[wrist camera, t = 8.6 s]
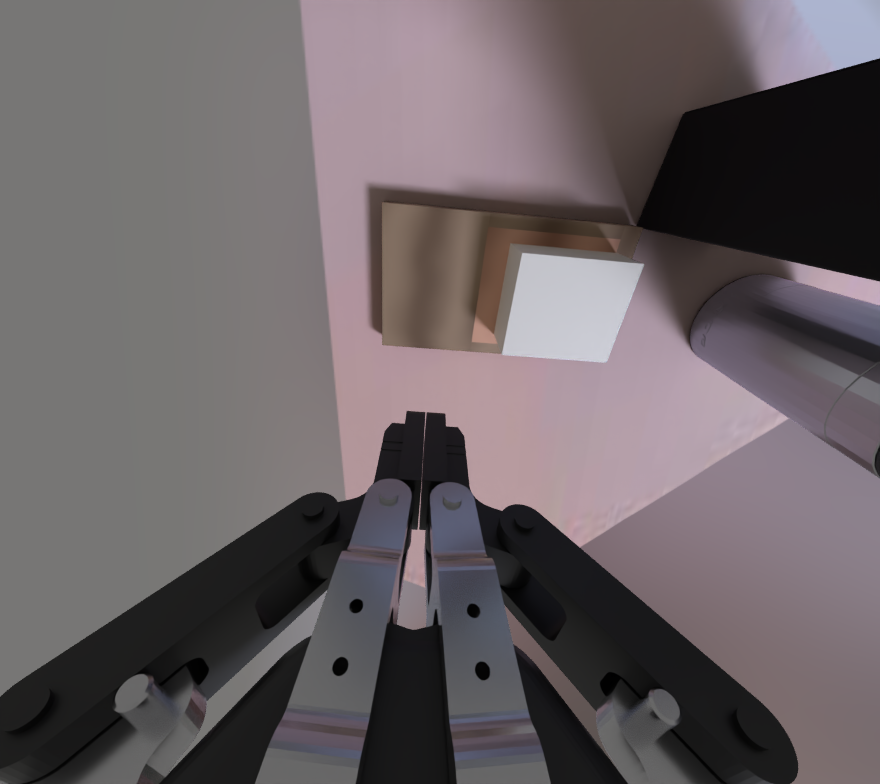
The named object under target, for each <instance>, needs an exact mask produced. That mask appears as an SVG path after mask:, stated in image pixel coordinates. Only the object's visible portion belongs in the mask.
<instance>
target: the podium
mask: <svg viewBox="0 0 880 784" xmlns="http://www.w3.org/2000/svg"><path fill="white" fill-rule="evenodd" d="M642 230H643V228H642V227H637V226H633V225H625V224H615V223H604V222H594V221H584V220H574V219H563V218H553V217H543V216H533V215H522V214H512V213H502V212H492V211H481V210H471V209H461V208H451V207H440V206H430V205H420V204H410V203H399V202H389V201H384V202H382V345H389V346H402V347H416V348H429V349H443V350H456V351H470V352H483V353H497V354H501V352H500V349H499V346H498V344H497V341H496V339H495V336H494V331H495V325H496V320H497V314H498V309H499V303H500V298H501V292H502V286H503V281H504V275H505V270H506V264H507V259H508V253H509V248H510V243H514V244H525V245H536V246H546V247H557V248H568V249H579V250H590V251H600V252H611V253H618V254H620V255H623V256H625V257H628V258H630V259H632V257H633V255H634V252H635V249H636V246H637V244H638V241H639V238H640V235H641V233H642Z"/></svg>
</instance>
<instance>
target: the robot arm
mask: <svg viewBox="0 0 880 784" xmlns="http://www.w3.org/2000/svg"><path fill="white" fill-rule="evenodd" d="M690 343H691V347H692V349H693V352H694V353H695V354H696V355H697V356H698V357H699V358H700V359H702V360H703V361H705V362H706V363H708V364H709V365H711V366H712V367H714V368H715V369H717V370H718V371H720V372H721V373H723V374H724V375H725V376H727V377H728V378H730V379H731V380H733V381H734V382H736V383H737V384H739V385H740V386H742V387H743V388H745V389H746V390H748V391H749V392H751V393H752V394H754V395H755V396H757V397H758V398H760V399H761V400H763V401H764V402H766V403H767V404H769V405H770V406H772V407H773V408H775V409H776V410H778V411H779V412H781V413H782V414H784V415H785V416H787V417H788V418H790V419H791V420H793V421H794V422H796V423H797V424H799V425H800V426H802V427H803V428H805V429H806V430H808V431H809V432H811V433H812V434H814V435H815V436H817V437H818V438H820V439H821V440H823V441H824V442H826V443H827V444H828V445H830V446H831V447H833V448H835V449H836V450H838V451H839V452H841V453H842V454H844V455H845V456H847V457H849V458H850V459H852V460H853V461H854V462H856V463H857V464H859V465H860V466H862V467H863V468H865V469H866V470H868V471H869V472H871V473H872V474H874V475H875V476H877V477H878V478H880V305H876V304H872V303H869V302H865V301H862V300H858V299H854V298H851V297H847V296H844V295H840V294H837V293H833V292H829V291H826V290H822V289H819V288H816V287H812V286H809V285H805V284H802V283H798V282H794V281H791V280H787V279H784V278H780V277H776V276H773V275H764V274H760V275H752V276H748V277H745V278H742V279H739V280H737V281H735V282H733V283H731V284H729V285H727V286H726V287H724V288H723V289H721V290H720V291H718V292H717V293H716V294H715V295H714V296H712V297H711V298H710V299H709V300H708V301H707V302H706V304H705V305H704V306H703V307H702V308H701V310H700V311H699V313H698V315H697V316H696V318H695V320H694V323H693V325H692V328H691V334H690ZM424 427H425V412H414V411H407V413H406V420H405V424H400V423H392V424H391V425H390V426H389V427H388V428H387V429H386V430H385V433H384V438H383V443H382V447H381V452H380V456H379V461H378V466H377V470H376V475H375V480H374V483H373V484H372V485H371V486H370V487H369V489H368V490H367V492H366V493H365V494H363V495H361V496H360V497H357V498H354V499H350V500H346V501H341V502H337V500H336V499H335V498H334V497H333V496H331V495H329V494H326V493H320V492H316V493H310V494H307V495H305V496H302V497H301V498H299V499H297V500H296V501H294V502H293V503H291V504H290V505H288V506H287V507H285V508H284V509H282V510H280V511H279V512H277V513H276V514H275V515H273V516H271V517H270V518H268V519H267V520H265V521H264V522H262V523H261V524H259V525H258V526H256V527H255V528H253V529H251V530H250V531H248V532H247V533H245V534H244V535H242V536H241V537H239V538H238V539H236V540H235V541H233V542H232V543H230V544H228V545H227V546H225V547H224V548H222V549H221V550H219V551H218V552H216V553H215V554H214V555H212V556H210V557H209V558H207V559H206V560H204V561H202V562H201V563H199V564H198V565H196V566H195V567H193V568H192V569H190V570H189V571H187V572H186V573H184V574H183V575H181V576H179V577H178V578H176V579H175V580H173V581H172V582H171V583H169V584H167V585H166V586H164V587H163V588H161V589H160V590H158V591H157V592H155V593H153V594H152V595H150V596H149V597H147V598H146V599H144V600H143V601H141V602H140V603H138V604H137V605H135V606H134V607H132V608H131V609H129V610H127V611H126V612H124V613H123V614H122V615H120V616H118V617H117V618H115V619H114V620H112V621H111V622H109V623H108V624H106V625H105V626H103V627H101V628H100V629H98V630H97V631H95V632H94V633H92V634H91V635H89V636H88V637H86V638H85V639H83V640H82V641H80V642H79V643H77V644H75V645H74V646H72V647H71V648H69V649H68V650H66V651H65V652H63V653H62V654H60V655H59V656H57V657H56V658H54V659H52V660H51V661H49V662H48V663H46V664H45V665H43V666H42V667H40V668H39V669H37V670H36V671H34V672H33V673H31V674H30V675H28V676H26V677H25V678H24V679H22V680H21V681H19V682H18V683H16V684H15V685H14V686H12V687H11V688H10V689H9V690H7V691H6V692H5V693H4V694H3V695H2V696H1V697H0V784H790V783H792V782H793V781H794V780H795V778H796V777H797V773H798V761H797V756H796V753H795V750H794V747H793V745H792V743H791V741H790V738H789V737H788V735H787V733H786V732H785V730H784V728H783V727H782V726H781V724H780V723H779V721H778V720H777V719H776V718H775V716H774V715H773V714H772V713H771V712H770V711H769V710H768V709H767V708H766V707H765V706H764V705H763V704H762V703H761V702H760V701H759V700H758V699H756V698H755V697H754V696H753V695H752V694H751V693H749V692H748V691H747V690H746V689H745V688H744V687H742V686H741V685H740V684H739V683H738V682H737V681H735V680H734V679H733V678H732V677H731V676H730V675H728V674H727V673H726V672H725V671H724V670H722V669H721V668H720V667H719V666H718V665H717V664H715V663H714V662H713V661H712V660H711V659H710V658H708V657H707V656H706V655H705V654H703V652H701V651H700V650H699V649H698V648H697V647H696V646H694V645H693V644H692V643H691V642H690V641H688V640H687V639H686V638H685V637H684V636H683V635H681V634H680V633H679V632H678V631H677V630H676V629H674V628H673V627H672V626H671V625H670V624H668V623H667V622H666V621H665V620H664V619H663V618H662V617H660V616H659V615H658V614H657V613H656V612H654V611H653V610H652V609H651V608H650V607H649V606H647V605H646V604H645V603H644V602H643V601H642V600H640V599H639V598H638V597H637V596H636V595H635V594H633V593H632V592H631V591H630V590H629V589H627V588H626V587H625V586H624V585H623V584H622V583H620V582H619V581H618V580H617V579H616V578H615V577H613V576H612V575H611V574H610V573H609V572H608V571H606V570H605V569H604V568H603V567H602V566H601V565H599V564H598V563H597V562H596V561H595V560H594V559H592V558H591V557H590V556H589V555H588V554H586V553H585V552H584V551H583V550H582V549H581V548H579V547H578V546H577V545H576V544H575V543H574V542H572V541H571V540H570V539H569V538H568V537H567V536H565V535H564V534H563V533H562V532H561V531H560V530H558V529H557V528H556V527H555V526H554V525H552V524H551V523H550V522H549V521H548V520H547V519H545V518H544V517H543V516H542V515H541V514H540V513H538V512H537V511H536V510H534V509H533V508H531V507H528V506H525V505H520V504H515V505H511V506H508V507H506V508H505V509H504V510H503V511H500V510H497V509H494V508H491V507H489V506H486V505H484V504H482V503H481V502H479V501H478V500H477V499H476V498H475V497H474V496H473V494H472V492H471V490H470V487H469V478H468V468H467V459H466V449H465V440H464V435H463V434H462V433H461V431H460V430H459V428H458V427H446V418H445V414H444V413H429V412H427V416H426V428H425V440H424ZM423 445H424V453H423ZM422 463H423V470H422ZM421 481H422V489H421ZM420 493H421V508H420V527H419V530H426V532H425V548H424V563H425V586H426V608H427V609H426V612H427V619H426V627H425V628H421V629H417V630H411V629H407V628H405V627H402V626H399V625H397V619H398V610H399V605H400V598H401V592H402V586H403V580H404V574H405V568H406V561H407V555H408V549H409V547H410V543H411V532H412V529H415V530H417V528H418V516H419V505H420ZM326 590H327V593H326V596H325V599H324V602H323V605H322V608H321V611H320V613H319V616H318V619H317V622H316V625H315V628H314V631H313V634H312V636H310V637H308V638H306V639H304V640H303V641H301V642H300V643H298V644H297V645H296V646H294V647H293V648H292V649H290V650H289V651H288V652H287V653H285V654H284V655H283V656H282V657H281V658H280V659H279V660H278V661H277V662H276V664H274V666H272V667H271V668H270V669H269V670H268V672H267V673H266V674H265V675H264V676H263V677H262V678H261V679H260V680H259V681H258V682H257V683H256V684H255V685H254V686H253V687H252V688H251V689H250V690H249V691H248V692H247V693H246V694H245V695H244V696H243V697H242V698H241V699H240V701H238V703H237V704H236V705H235V706H234V707H233V708H232V709H231V710H230V711H229V712H228V713H227V714H226V715H225V716H224V717H223V718H222V719H221V720H220V721H219V722H218V723H217V724H216V726H214V727H213V728H212V730H210V731H209V732H208V734H207V735H206V736H205V737H204V738H203V739H202V740H201V741H200V742H199V743H198V744H197V745H196V746H195V747H194V748H193V749H192V750H191V751H190V752H189V753H188V754H187V755H186V756H185V757H184V758H183V759H182V760H181V761H180V762H179V763H178V765H177V766H176V767H175V768H174V769H173V770H172V771H171V772H170V770H171V768H172V767H173V766H174V764H175V763H176V761H177V760H178V759H179V758H180V756H181V755H182V754H183V753H184V752H185V751H186V750H187V748H188V747H189V746H190V745H191V743H192V742H193V741H194V739H195V737H196V736H197V734H198V732H199V731H200V728H201V726H202V724H203V721H204V718H205V714H206V705H207V703H206V701H207V700H208V699H209V698H211V697H212V696H213V695H214V694H215V693H216V692H217V691H218V690H219V689H220V688H221V687H223V686H224V685H225V684H226V683H227V682H228V681H229V680H230V679H231V678H232V677H233V676H234V675H235V674H236V673H238V672H239V671H240V670H241V669H242V668H243V667H244V666H245V665H246V664H247V663H249V662H250V660H252V659H253V658H254V657H255V656H256V655H257V654H258V653H259V652H260V651H261V650H262V649H264V648H265V647H266V646H267V645H268V644H269V643H270V642H271V641H272V640H273V639H274V638H275V637H277V636H278V635H279V634H280V633H281V632H282V631H283V630H284V629H285V628H286V627H287V626H289V625H290V624H291V623H292V622H293V621H294V620H295V619H296V618H297V617H298V616H299V615H300V614H302V613H303V612H304V611H305V610H306V609H307V608H308V607H309V606H310V605H311V604H312V603H313V602H315V601H316V600H317V599H318V598H319V597H320V596H321V595H322V594H323V593H324V592H325V591H326ZM504 605H505V606H506V607H507V608H508V609H509V611H510V612H511V613H512V614H513V615H514V616H515V618H516V619H517V620H518V621H519V622H520V623H521V624H522V625H523V627H524V628H525V629H526V630H527V631H528V633H529V634H530V635H531V636H532V637H533V638H534V640H535V641H536V642H537V643H538V644H539V645H540V646H541V648H542V649H543V650H544V651H545V652H546V653H547V655H548V656H549V657H550V658H551V659H552V660H553V662H554V663H555V664H556V665H557V666H558V667H559V669H560V670H561V671H562V672H563V673H564V674H565V676H566V677H567V678H568V679H569V680H570V681H571V683H572V684H573V685H574V686H575V687H576V688H577V690H578V691H579V692H580V693H581V694H582V695H583V697H584V698H585V699H586V700H587V701H588V702H589V703H590V705H591V706H592V707H593V708H594V709H595V710H596V712H597V718H596V719H597V728H598V733H599V736H600V739H601V742H602V744H603V746H604V748H605V750H606V752H607V754H608V755H609V757H610V758H611V760H612V761H613V763H614V764H615V766H616V767H617V768H616V767H615V766H614V765H613V764H612V762H611V761H610V759H609V758H608V757H607V756H606V754H605V753H604V752H603V750H602V749H601V748H600V746H599V745H598V744H597V743H596V741H595V740H594V739H593V738H592V736H591V735H590V734H589V732H588V731H587V730H586V728H585V727H584V726H583V725H582V723H581V722H580V721H579V719H578V718H577V717H576V716H575V714H574V713H573V712H572V710H571V709H570V708H569V707H568V705H567V704H566V703H565V701H564V700H563V699H562V698H561V696H560V695H559V694H558V692H557V691H556V690H555V688H554V687H553V686H552V685H551V684H550V682H549V681H548V679H547V678H546V677H545V676H544V674H543V673H542V672H541V670H540V669H539V668H538V667H537V666H536V664H535V663H534V662H533V661H532V660H531V659H530V658H529V657H528V656H527V655H526V654H525V653H524V652H523V651H522V650H520V649H519V648H518V647H517V646H515V645H514V644H513V641H512V637H511V633H510V629H509V624H508V619H507V615H506V611H505V606H504ZM617 769H618V770H617ZM169 772H170V773H169Z"/></svg>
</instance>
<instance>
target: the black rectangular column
mask: <svg viewBox="0 0 880 784" xmlns="http://www.w3.org/2000/svg"><path fill="white" fill-rule="evenodd" d="M637 227H642V228H643V229H648V230H652V231H657V232H661V233H666V234H670V235H675V236H679V237H683V238H688V239H692V240H697V241H701V242H706V243H710V244H715V245H719V246H724V247H728V248H733V249H737V250H742V251H746V252H751V253H755V254H759V255H764V256H768V257H773V258H777V259H782V260H786V261H791V262H795V263H800V264H804V265H809V266H813V267H818V268H822V269H826V270H831V271H835V272H840V273H844V274H849V275H853V276H858V277H862V278H867V279H871V280H876V281H880V59H876V60H872V61H869V62H865V63H861V64H858V65H854V66H851V67H847V68H843V69H840V70H836V71H833V72H829V73H825V74H822V75H818V76H815V77H811V78H807V79H804V80H800V81H797V82H793V83H789V84H786V85H782V86H779V87H775V88H771V89H768V90H764V91H761V92H757V93H753V94H750V95H746V96H743V97H739V98H735V99H732V100H728V101H725V102H721V103H717V104H714V105H710V106H707V107H703V108H700V109H696V110H692V111H689V112H685V114H683V116H682V119H681V121H680V123H679V126H678V128H677V131H676V133H675V135H674V138H673V140H672V143H671V145H670V147H669V150H668V152H667V154H666V157H665V159H664V162H663V164H662V166H661V169H660V171H659V174H658V176H657V178H656V181H655V183H654V186H653V188H652V190H651V193H650V195H649V198H648V200H647V202H646V205H645V207H644V210H643V212H642V214H641V217H640V219H639V221H638V224H637Z"/></svg>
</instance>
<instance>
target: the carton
mask: <svg viewBox="0 0 880 784" xmlns="http://www.w3.org/2000/svg"><path fill="white" fill-rule="evenodd" d="M643 266H644V264H643V263H640V262H638V261H635V260H633V259H630V258H628V257H625V256H623V255H620V254H618V253H611V252H600V251H590V250H579V249H568V248H557V247H546V246H536V245H525V244H514V243H510V248H509V253H508V259H507V264H506V270H505V275H504V281H503V286H502V292H501V298H500V303H499V309H498V314H497V320H496V325H495V331H494V336H495V339H496V341H497V344H498V346H499V349H500V352H501V354H502V355H510V356H523V357H537V358H550V359H564V360H577V361H591V362H604V363H606V362H607V360H608V357H609V355H610V352H611V349H612V347H613V344H614V342H615V339H616V336H617V334H618V331H619V329H620V326H621V324H622V321H623V318H624V316H625V313H626V311H627V308H628V305H629V303H630V300H631V298H632V295H633V292H634V290H635V287H636V285H637V282H638V279H639V277H640V274H641V272H642V269H643Z"/></svg>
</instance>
